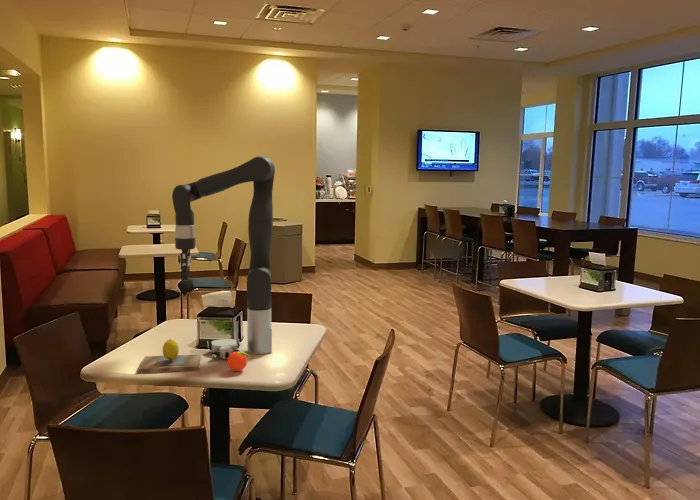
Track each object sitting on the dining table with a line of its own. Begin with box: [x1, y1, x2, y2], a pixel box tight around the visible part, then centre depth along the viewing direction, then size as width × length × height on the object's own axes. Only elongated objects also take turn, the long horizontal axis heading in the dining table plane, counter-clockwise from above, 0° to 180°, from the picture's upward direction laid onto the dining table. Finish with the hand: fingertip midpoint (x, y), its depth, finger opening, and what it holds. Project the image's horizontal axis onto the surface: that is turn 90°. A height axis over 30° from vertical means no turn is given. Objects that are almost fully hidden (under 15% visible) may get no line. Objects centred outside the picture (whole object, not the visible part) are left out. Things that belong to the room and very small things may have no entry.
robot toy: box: [207, 338, 241, 360], centre depth 227 cm, size 12×4×15 cm
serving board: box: [138, 353, 202, 374], centre depth 214 cm, size 20×14×2 cm
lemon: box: [162, 338, 180, 361], centre depth 213 cm, size 6×6×8 cm
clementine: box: [226, 350, 251, 372], centre depth 209 cm, size 8×7×7 cm
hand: (185, 277), depth 232 cm, fingers open, 8 cm apart
